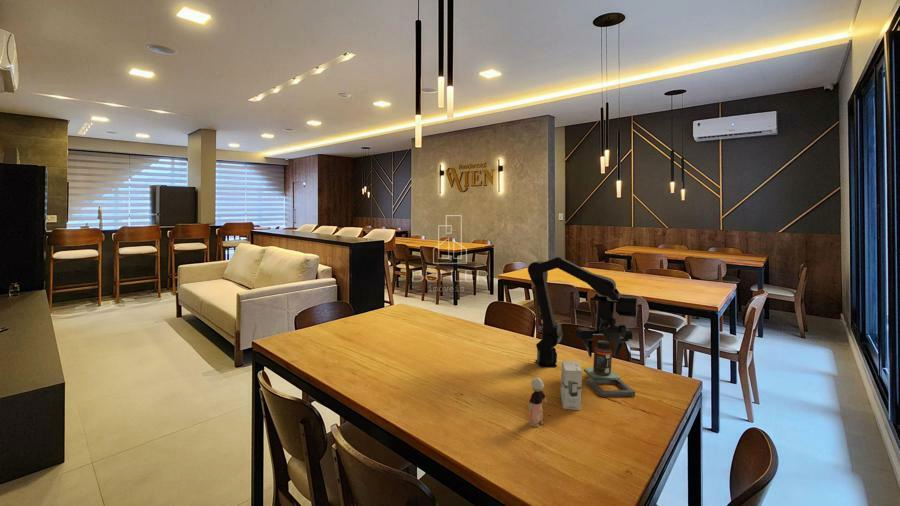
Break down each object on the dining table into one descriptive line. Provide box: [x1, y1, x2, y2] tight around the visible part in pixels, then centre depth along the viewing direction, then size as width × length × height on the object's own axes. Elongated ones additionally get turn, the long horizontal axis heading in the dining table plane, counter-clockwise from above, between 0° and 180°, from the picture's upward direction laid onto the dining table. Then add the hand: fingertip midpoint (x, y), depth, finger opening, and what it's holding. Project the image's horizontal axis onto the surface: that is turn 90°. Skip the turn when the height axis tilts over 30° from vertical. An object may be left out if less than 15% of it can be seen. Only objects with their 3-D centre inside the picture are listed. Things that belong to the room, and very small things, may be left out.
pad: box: [584, 367, 621, 380], centre depth 147 cm, size 9×9×1 cm
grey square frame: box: [586, 377, 636, 398], centre depth 134 cm, size 11×11×2 cm
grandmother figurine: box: [527, 377, 547, 428], centre depth 110 cm, size 8×4×13 cm, turn 145°
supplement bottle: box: [592, 340, 613, 375], centre depth 147 cm, size 6×6×11 cm
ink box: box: [559, 360, 583, 411], centre depth 123 cm, size 9×5×12 cm, turn 172°
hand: (602, 356), depth 146 cm, fingers open, 9 cm apart
